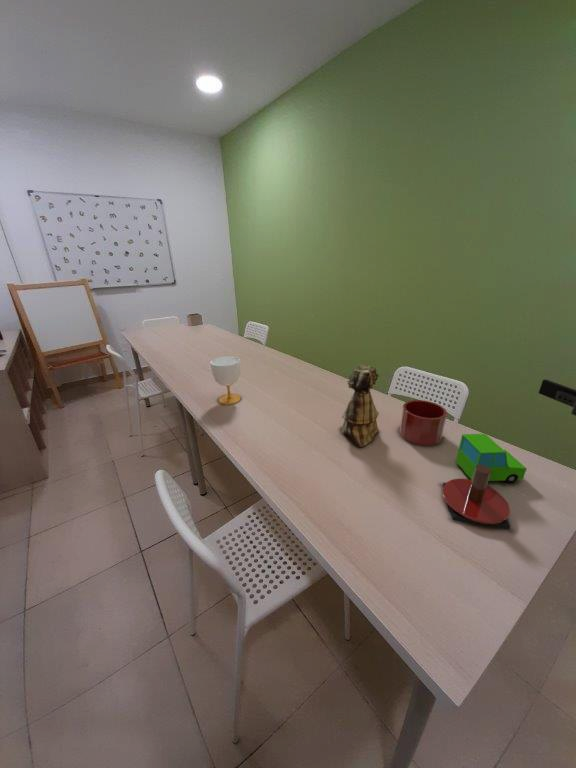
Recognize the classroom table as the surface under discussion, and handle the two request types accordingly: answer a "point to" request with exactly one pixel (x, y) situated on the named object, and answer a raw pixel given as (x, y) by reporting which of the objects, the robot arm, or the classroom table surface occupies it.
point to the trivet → (459, 517)
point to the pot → (422, 422)
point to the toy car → (488, 458)
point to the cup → (226, 376)
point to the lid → (476, 498)
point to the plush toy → (361, 407)
